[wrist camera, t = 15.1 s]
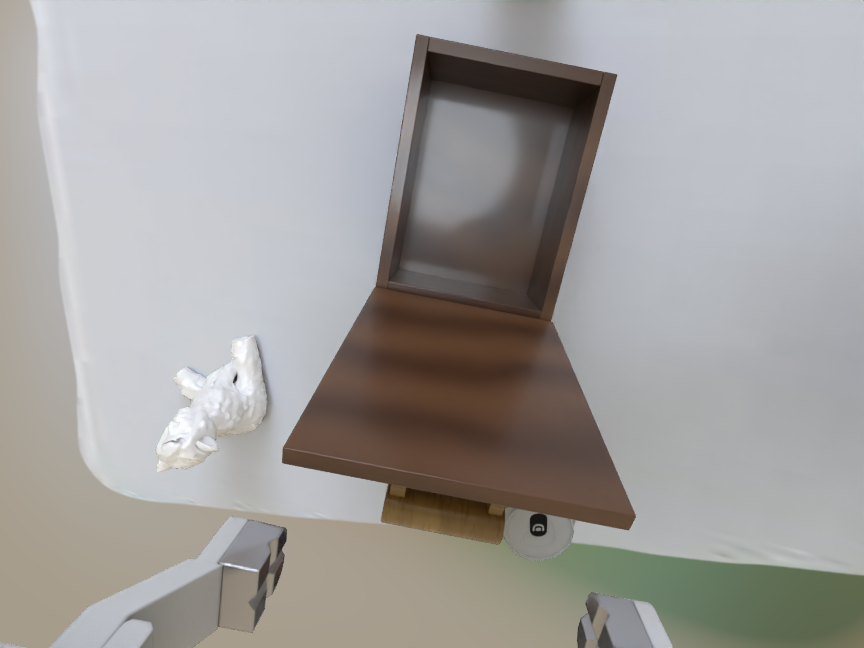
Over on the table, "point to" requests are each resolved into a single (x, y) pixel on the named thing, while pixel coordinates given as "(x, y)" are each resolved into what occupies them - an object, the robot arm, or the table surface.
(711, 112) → the table surface
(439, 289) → the chest
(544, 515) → the energy drink can
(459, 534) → the chest lid
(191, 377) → the white creature statuette
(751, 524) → the table surface
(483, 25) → the table surface
